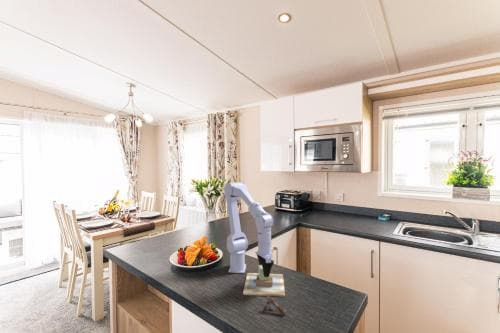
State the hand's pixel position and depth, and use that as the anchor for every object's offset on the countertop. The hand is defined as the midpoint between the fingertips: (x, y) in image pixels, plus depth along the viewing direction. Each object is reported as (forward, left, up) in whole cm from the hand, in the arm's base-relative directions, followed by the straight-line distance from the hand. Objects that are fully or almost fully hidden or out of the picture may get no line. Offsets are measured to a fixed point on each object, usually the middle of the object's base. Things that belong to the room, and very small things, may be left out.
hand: (264, 272), depth 106 cm
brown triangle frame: (+19, +4, -6) cm, 20 cm away
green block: (0, 0, -2) cm, 2 cm away
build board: (0, 0, -5) cm, 5 cm away
